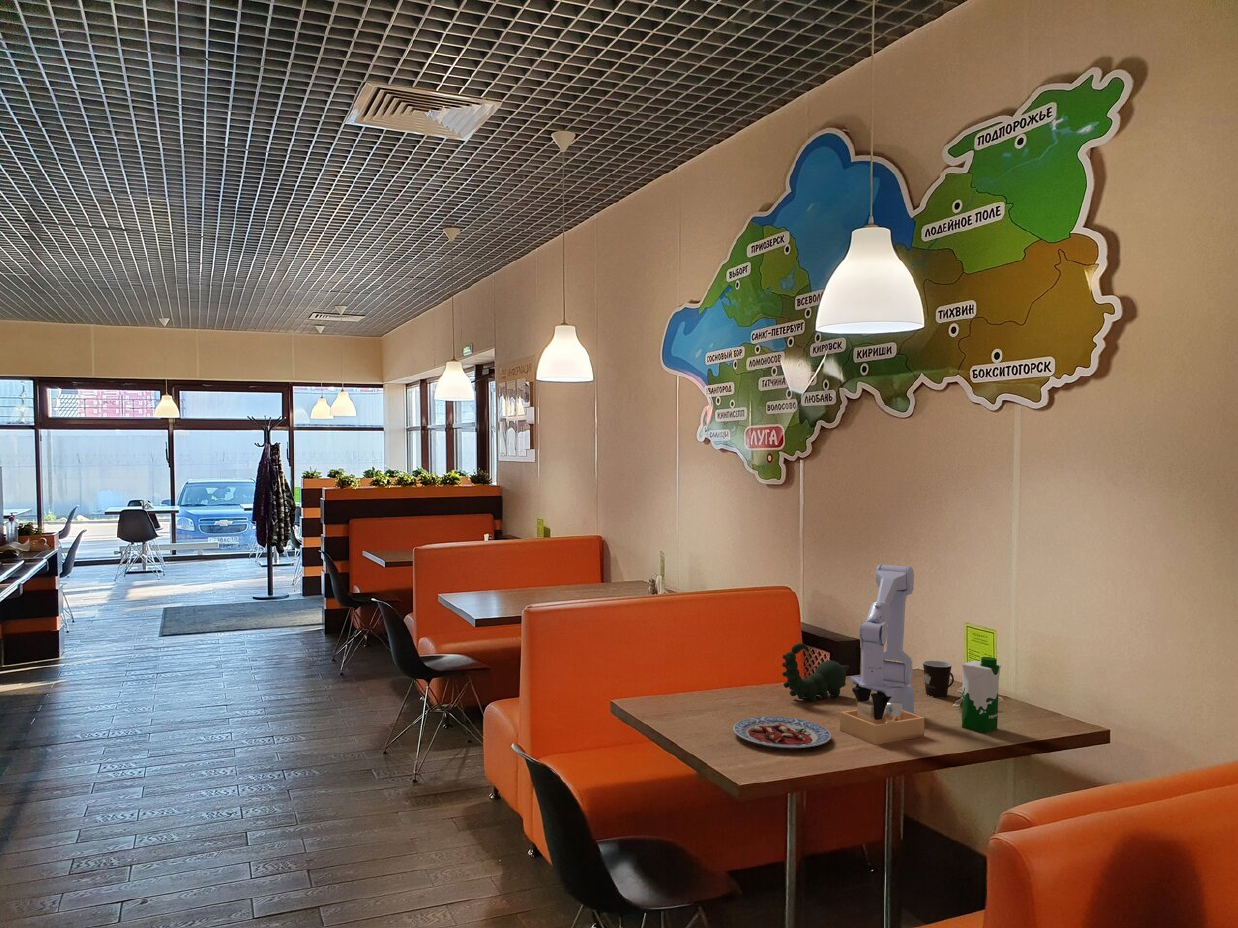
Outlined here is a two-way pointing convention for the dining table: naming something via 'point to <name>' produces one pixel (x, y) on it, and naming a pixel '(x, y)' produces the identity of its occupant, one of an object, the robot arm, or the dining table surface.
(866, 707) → the beech cube
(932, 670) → the coffee mug
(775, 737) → the ceramic plate
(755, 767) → the dining table surface
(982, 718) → the milk carton
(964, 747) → the dining table surface
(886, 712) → the steel cylinder
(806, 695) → the toy figurine
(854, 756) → the dining table surface
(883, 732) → the light wood open box
